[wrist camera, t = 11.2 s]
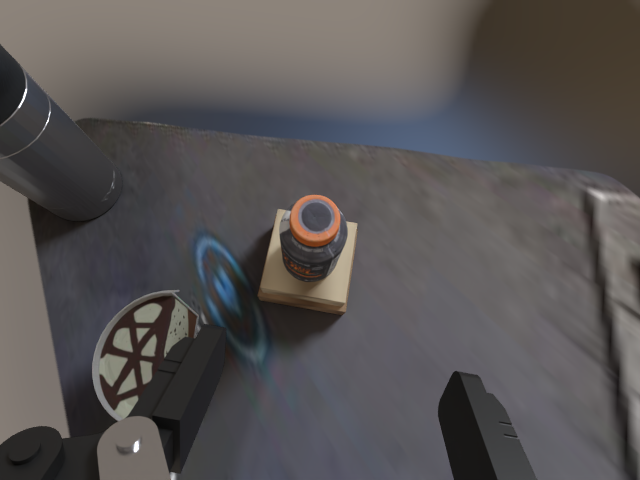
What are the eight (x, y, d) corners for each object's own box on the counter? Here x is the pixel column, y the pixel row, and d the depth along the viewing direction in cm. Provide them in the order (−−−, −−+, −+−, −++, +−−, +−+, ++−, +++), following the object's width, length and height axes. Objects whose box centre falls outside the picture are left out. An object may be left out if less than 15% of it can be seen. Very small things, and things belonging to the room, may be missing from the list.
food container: (147, 300, 42) (103, 282, 32) (200, 302, 42) (172, 285, 32) (125, 416, 38) (67, 435, 28) (184, 417, 38) (146, 437, 28)
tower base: (260, 300, 42) (254, 291, 37) (277, 223, 46) (274, 204, 40) (342, 315, 42) (349, 308, 37) (354, 237, 46) (362, 220, 40)
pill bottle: (271, 265, 38) (261, 228, 27) (300, 220, 39) (301, 169, 29) (320, 293, 37) (329, 267, 26) (347, 247, 39) (366, 204, 28)
